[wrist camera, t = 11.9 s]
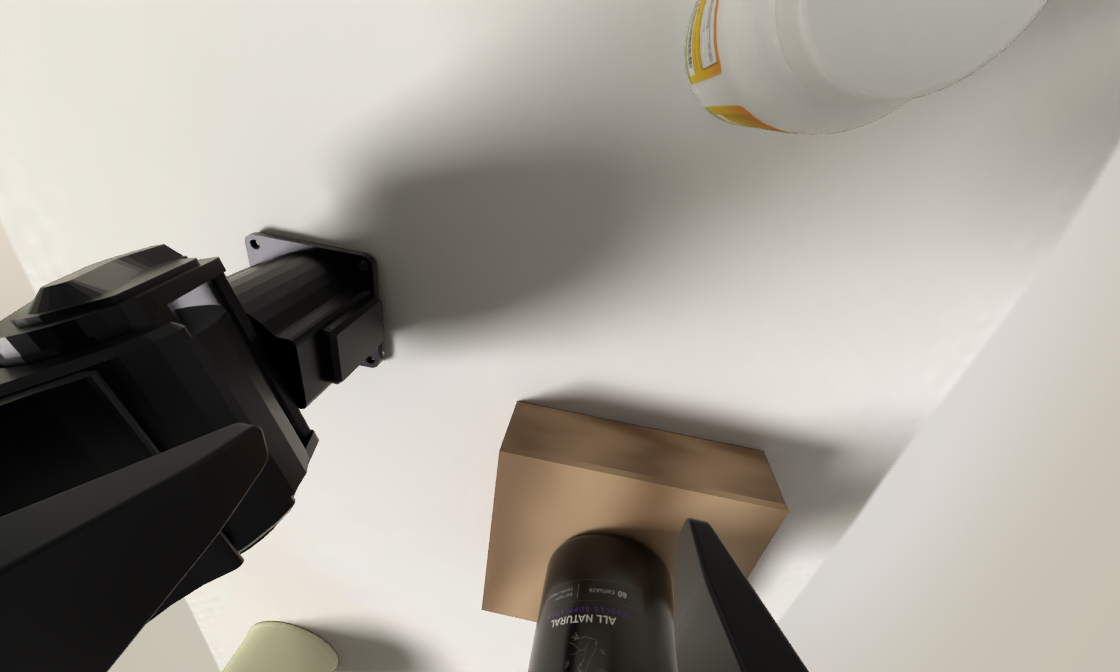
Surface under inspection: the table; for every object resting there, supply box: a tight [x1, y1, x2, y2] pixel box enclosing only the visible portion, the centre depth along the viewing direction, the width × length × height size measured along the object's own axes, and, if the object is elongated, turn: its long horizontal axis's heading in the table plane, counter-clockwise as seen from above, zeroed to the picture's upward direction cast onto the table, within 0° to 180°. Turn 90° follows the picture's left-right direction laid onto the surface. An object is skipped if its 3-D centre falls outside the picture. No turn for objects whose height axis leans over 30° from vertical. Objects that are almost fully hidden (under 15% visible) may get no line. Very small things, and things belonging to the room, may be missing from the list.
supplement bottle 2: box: [685, 0, 1048, 134], centre depth 11 cm, size 5×5×10 cm
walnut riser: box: [482, 401, 789, 622], centre depth 25 cm, size 14×14×4 cm
